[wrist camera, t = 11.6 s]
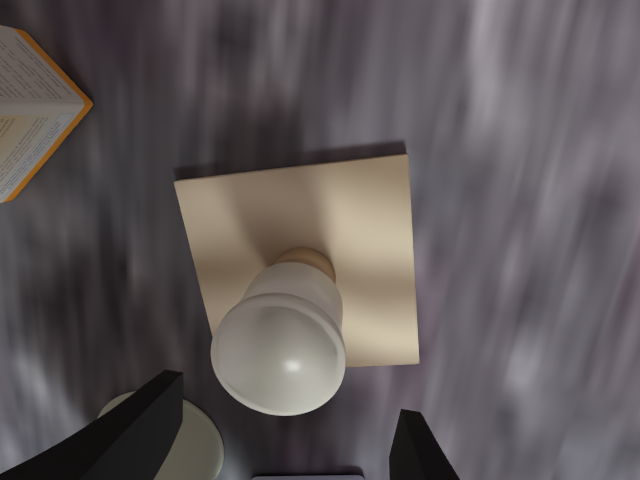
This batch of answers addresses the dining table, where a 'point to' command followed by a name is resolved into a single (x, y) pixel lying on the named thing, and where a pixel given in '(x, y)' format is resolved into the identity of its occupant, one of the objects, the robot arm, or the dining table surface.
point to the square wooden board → (314, 243)
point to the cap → (282, 342)
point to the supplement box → (32, 109)
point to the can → (189, 446)
